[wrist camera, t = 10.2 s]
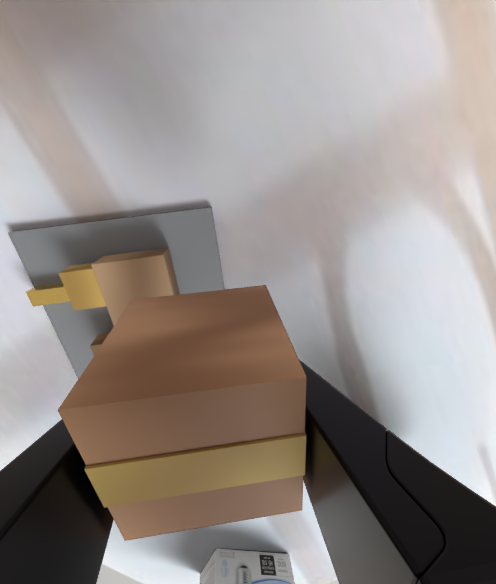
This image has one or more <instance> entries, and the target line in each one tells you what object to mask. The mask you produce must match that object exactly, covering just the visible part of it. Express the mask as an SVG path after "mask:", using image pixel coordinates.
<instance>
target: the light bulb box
mask: <svg viewBox="0 0 496 584" xmlns="http://www.w3.org/2000/svg"><path fill="white" fill-rule="evenodd" d="M200 584H295V583H294V578H293V572H292V567H291V561H290V556H289V554H282V553H269V552H257V551H243V550H231V549H219V548H217V549H216V550H215V551H214V553H213V554H212V556H211V558H210V559H209V561H208V562H207V564H206V566H205V567H204V569H203V571H202V572H201V574H200Z"/></svg>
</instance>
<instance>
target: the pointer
mask: <svg viewBox="0 0 496 584" xmlns="http://www.w3.org/2000/svg"><path fill="white" fill-rule="evenodd" d="M26 293H27V295H28V297H29V299H30V301H31V303H32V305H33V306H40V305H47V304H54V303H61V302H69V301H70V299H69V297H68V294H67V292H66V290H65V288H64V285H63V283H61V284H53V285H46V286H38V287H33V288H32V289H30V290H28V291H27V292H26Z"/></svg>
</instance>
